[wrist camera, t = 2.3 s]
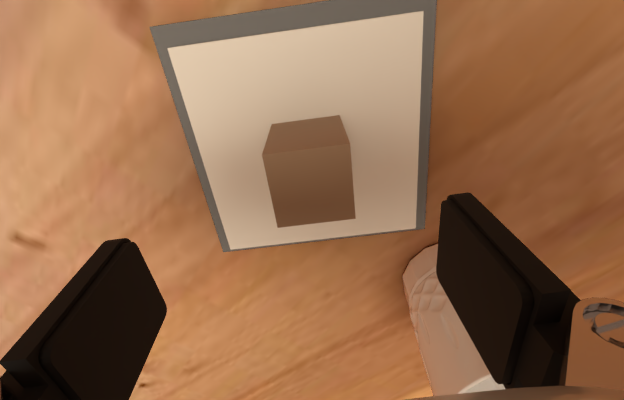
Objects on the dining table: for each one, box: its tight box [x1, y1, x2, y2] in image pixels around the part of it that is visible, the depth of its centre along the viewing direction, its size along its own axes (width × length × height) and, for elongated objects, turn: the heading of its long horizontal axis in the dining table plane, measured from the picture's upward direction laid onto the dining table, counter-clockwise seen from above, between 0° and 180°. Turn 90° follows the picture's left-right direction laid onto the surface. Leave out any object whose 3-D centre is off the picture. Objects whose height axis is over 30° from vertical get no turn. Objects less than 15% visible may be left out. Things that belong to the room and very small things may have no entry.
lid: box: [167, 11, 424, 250], centre depth 16 cm, size 12×12×6 cm
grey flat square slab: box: [150, 0, 437, 252], centre depth 19 cm, size 14×14×1 cm
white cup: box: [403, 244, 505, 396], centre depth 20 cm, size 8×8×10 cm
